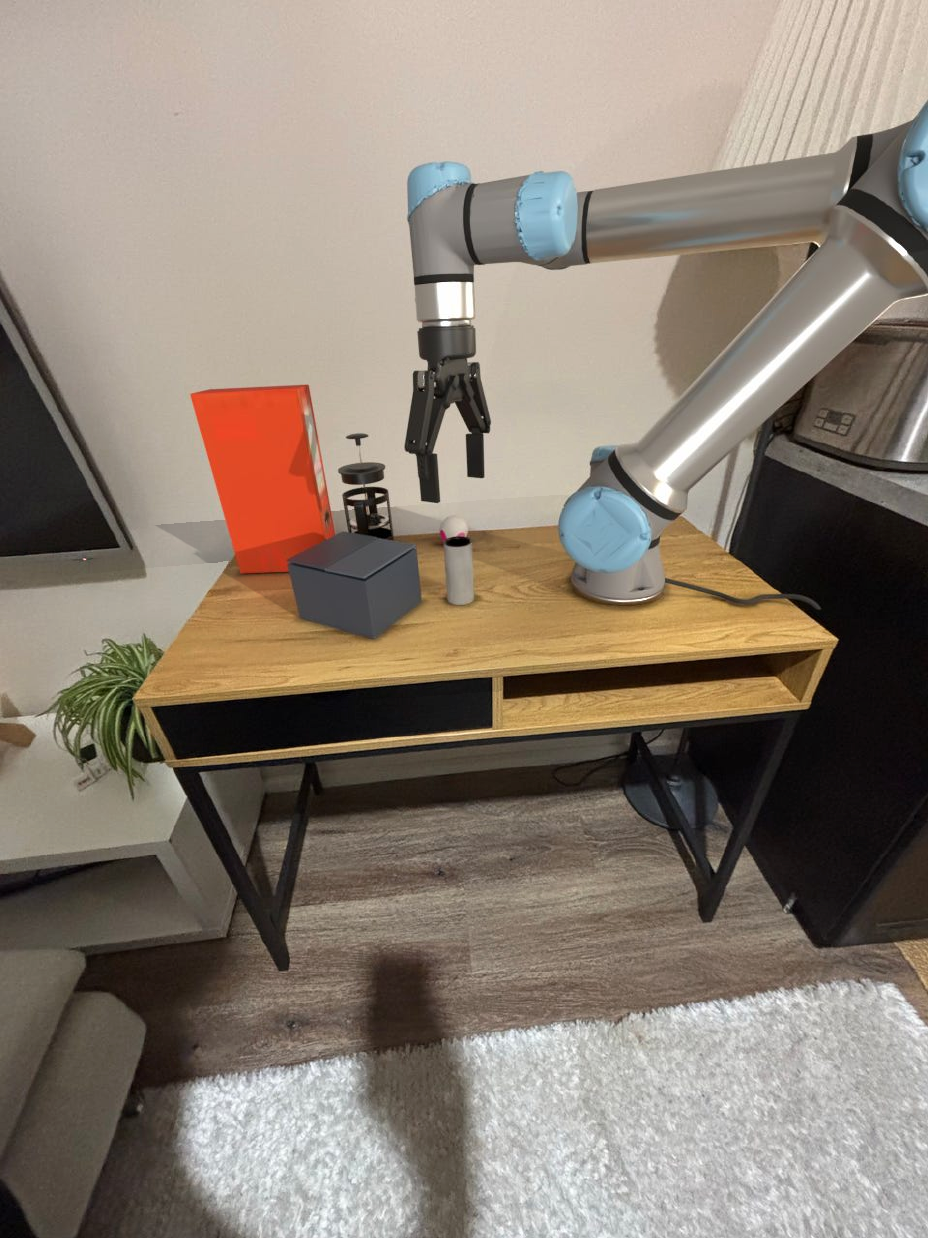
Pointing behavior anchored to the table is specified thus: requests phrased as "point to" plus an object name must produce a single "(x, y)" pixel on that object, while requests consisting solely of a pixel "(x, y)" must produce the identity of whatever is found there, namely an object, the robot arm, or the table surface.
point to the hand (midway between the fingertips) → (454, 488)
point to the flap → (370, 558)
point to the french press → (366, 496)
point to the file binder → (266, 471)
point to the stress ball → (453, 527)
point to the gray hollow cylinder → (459, 570)
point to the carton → (353, 588)
